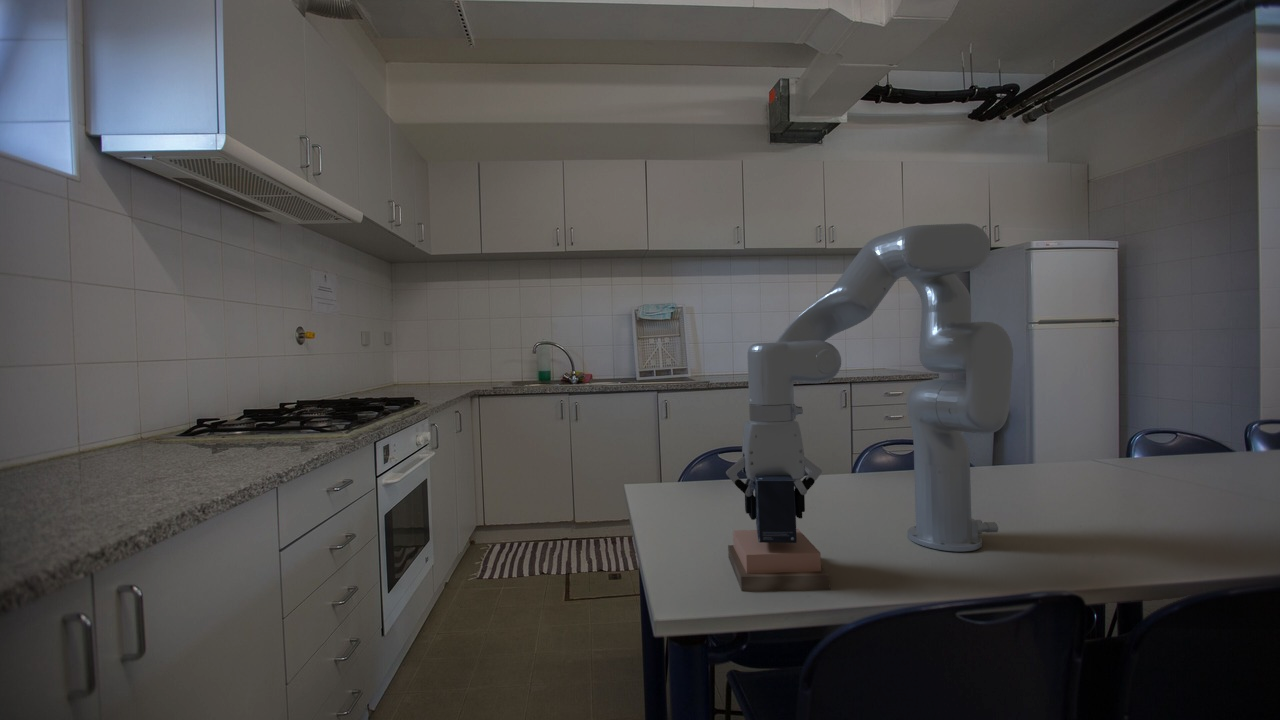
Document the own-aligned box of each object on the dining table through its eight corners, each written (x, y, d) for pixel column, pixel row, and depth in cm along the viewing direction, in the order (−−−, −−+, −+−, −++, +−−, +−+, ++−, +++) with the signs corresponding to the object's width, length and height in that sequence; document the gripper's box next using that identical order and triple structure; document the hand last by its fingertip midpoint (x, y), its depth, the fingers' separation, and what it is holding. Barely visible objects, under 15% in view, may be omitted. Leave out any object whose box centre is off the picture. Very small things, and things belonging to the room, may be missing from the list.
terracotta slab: (798, 544, 96) (797, 528, 96) (821, 571, 84) (820, 552, 84) (733, 546, 96) (733, 530, 96) (746, 573, 84) (746, 554, 84)
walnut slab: (804, 560, 96) (803, 543, 96) (830, 594, 82) (829, 575, 82) (728, 561, 97) (728, 545, 97) (741, 595, 83) (741, 576, 83)
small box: (799, 544, 84) (795, 479, 84) (758, 544, 85) (754, 480, 85) (792, 522, 94) (788, 465, 94) (755, 523, 95) (751, 466, 95)
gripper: (815, 410, 93) (818, 509, 93) (718, 413, 93) (721, 511, 93) (829, 414, 86) (833, 522, 86) (724, 418, 86) (727, 525, 86)
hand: (775, 516), depth 90 cm, fingers open, 7 cm apart
